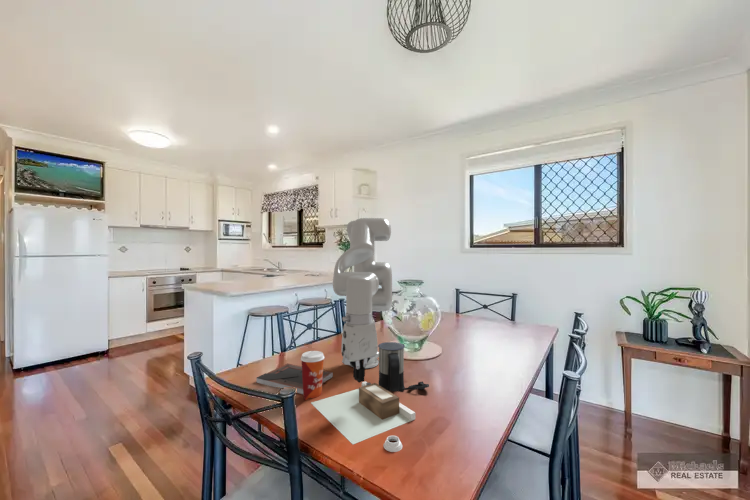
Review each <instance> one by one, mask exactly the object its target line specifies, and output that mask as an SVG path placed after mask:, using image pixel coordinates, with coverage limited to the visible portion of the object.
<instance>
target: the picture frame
mask: <svg viewBox="0 0 750 500" xmlns="http://www.w3.org/2000/svg"><path fill="white" fill-rule="evenodd" d="M333 375H334V374H333V372H332V371H327V370H323V378H322V384H324V383H326V381H328V380H330V379H332V378H333ZM257 383H258V384H261V385H263V386H264V385H265V386H268V387H272V388H273V387H274V388H276V387H280V388H284V387H295V388H297V394H301V395H303V379H302V365H298V364H292V363H285V364H283V365H281V366H279V367H277V368H275V369H273V370H271V371H269V372H266V373H263V374H261V375H259V376H257V377H256V384H257ZM280 388H279V389H280Z"/></svg>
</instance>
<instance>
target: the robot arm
mask: <svg viewBox="0 0 750 500" xmlns="http://www.w3.org/2000/svg"><path fill="white" fill-rule="evenodd" d="M346 231H347V236H348V238H349V239H348V240H349V241H350V244H349V248H348V249H347V250H346V251H344V252H343V253H342V254H341V255H340V256H339V257H338V258H337V260H336V262H335V264H334V270H333V277H332V289H333V293H335V294H336V295H337V296H340V297H345V298H346V299H345V305H346V307H345V308H346V309H345V316H342V321H343V322H345V323H344V325H343V327H342V328H343V329H342V334H341V336H342V337H341V349H340V350H341V356H342V361H341V363H342V364H343V365H347V366H349V367H352V370H353V373H352V374H353V377H352V378H353V379H354V380H355V381H356V382H358V383H362V382H365V376H366V369H372V368H375V367H377V366H379V347H378V345H379V344H378V334H377V327H376V322H375V318H374V317H373V312H387V311H390V310H391V309H392V306H393V273H392V267H391V265H390V264H389V263H388V262H385V261H384V262H381V261H377V262H376V261H375V242H387V241H389V240H390V238H391V235H392V234H391V233H392V227H391V222H390V221H389V220H388V219H387V218H385V217H384V218H383V217H362V218H358V219H355V220H351V221H349V222H348V223H347V226H346ZM352 267H353V271H346V270H348V269H349V268H352ZM379 286H381V287H379Z"/></svg>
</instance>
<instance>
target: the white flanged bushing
mask: <svg viewBox="0 0 750 500" xmlns="http://www.w3.org/2000/svg"><path fill="white" fill-rule="evenodd" d="M392 441H395V442H392ZM383 448H384V449H385V450H386V451H388V452H391V453H397V452H400V451H401V450H402V449H403V444H402V442H401V440H400V438H399V436H397V435H389V436H387V437H386V439H385V441H384V443H383Z"/></svg>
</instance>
